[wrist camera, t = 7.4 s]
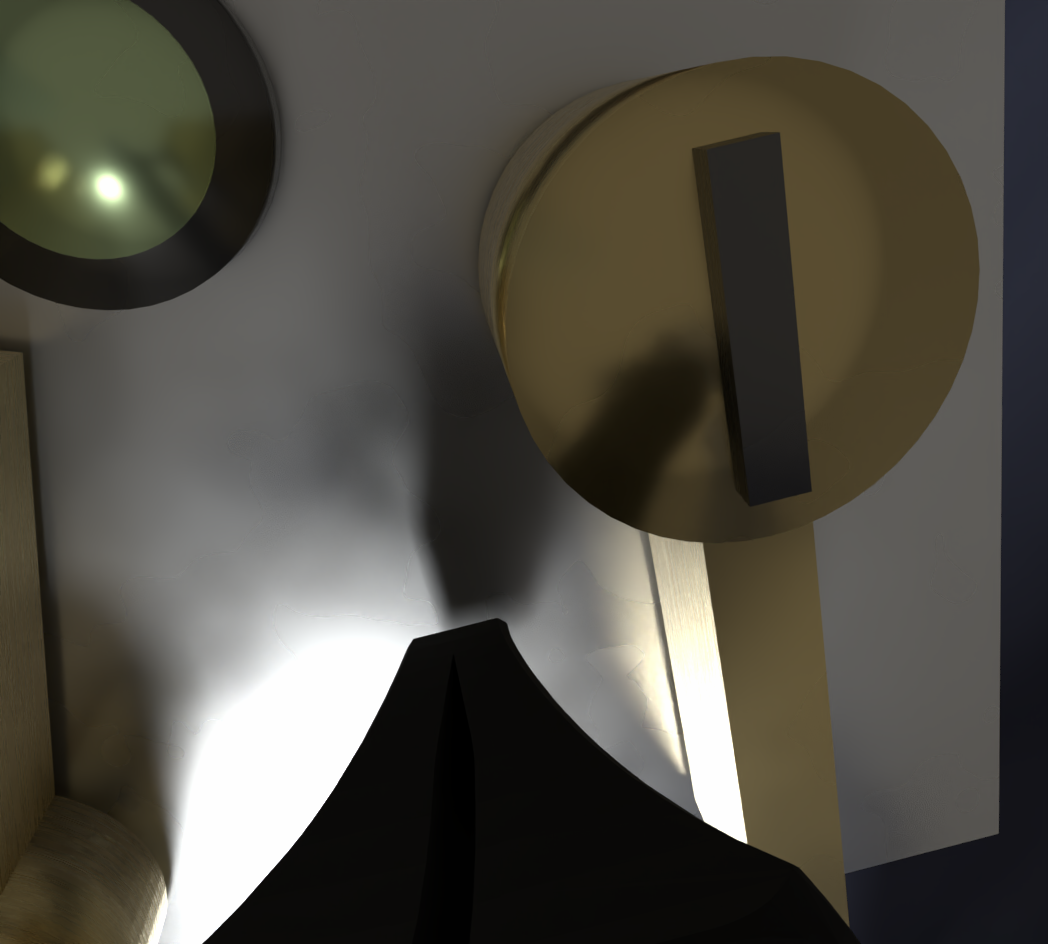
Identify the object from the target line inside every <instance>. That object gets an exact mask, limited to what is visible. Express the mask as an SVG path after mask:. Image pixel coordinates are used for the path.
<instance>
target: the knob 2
mask: <svg viewBox="0 0 1048 944" xmlns="http://www.w3.org/2000/svg"><path fill="white" fill-rule="evenodd" d="M979 273H980V265H979V250H978V237H977V232H976V227H975V222H974V217H973V213H972V208H971V205H970V202H969V199H968V196H967V193H966V190H965V188H964V185H963V182H962V179H961V177H960V175H959V173H958V171H957V169H956V167H955V166H954V164H953V162H952V160H951V158H950V156H949V154H948V152H947V150H946V149H945V148H944V146H943V145H942V144H941V142H940V141H939V140H938V138H937V137H936V136H935V134H934V133H933V131H932V130H931V129H930V127H929V126H928V125H927V124H926V123H925V122H924V121H923V120H922V119H921V118H920V117H919V116H918V115H917V114H916V113H915V112H914V111H913V110H912V109H911V108H910V107H909V106H908V105H907V104H906V103H904V102H903V101H902V100H900V99H899V98H897V97H896V96H895V95H893V94H892V93H890V92H889V91H888V90H886V89H885V88H883V87H882V86H881V85H879V84H877V83H875V82H873V81H871V80H869V79H867V78H865V77H863V76H861V75H859V74H857V73H854V72H852V71H850V70H847V69H844V68H840V67H837V66H834V65H831V64H827V63H824V62H821V61H815V60H808V59H802V58H795V57H788V56H771V57H747V58H741V59H734V60H728V61H722V62H716V63H711V64H707V65H702V66H697V67H692V68H688V69H683V70H678V71H673V72H669V73H664V74H659V75H654V76H649V77H645V78H640V79H635V80H630V81H626V82H621V83H617V84H614V85H611V86H608V87H604V88H601V89H598V90H595V91H593V92H591V93H589V94H587V95H585V96H583V97H581V98H578V99H576V100H574V101H573V102H571V103H570V104H568V105H567V106H565V107H564V108H562V109H560V110H559V111H557V112H556V113H554V114H553V115H552V116H551V117H550V118H548V119H547V120H546V121H545V122H544V123H543V124H541V125H540V126H539V127H538V128H537V129H536V130H535V131H534V132H533V133H532V134H531V135H530V136H529V137H528V138H527V140H526V141H525V142H524V143H523V144H522V145H521V146H520V147H519V149H518V150H517V152H516V153H515V154H514V156H513V157H512V159H511V160H510V162H509V163H508V165H507V166H506V168H505V169H504V171H503V173H502V175H501V177H500V179H499V181H498V183H497V185H496V187H495V189H494V191H493V194H492V196H491V199H490V202H489V205H488V207H487V210H486V213H485V217H484V222H483V226H482V231H481V235H480V244H479V255H478V274H479V287H480V293H481V299H482V305H483V308H484V312H485V315H486V318H487V322H488V325H489V328H490V331H491V333H492V336H493V339H494V341H495V344H496V347H497V350H498V352H499V355H500V358H501V360H502V363H503V366H504V369H505V371H506V374H507V377H508V380H509V382H510V385H511V388H512V390H513V393H514V396H515V399H516V401H517V404H518V407H519V410H520V412H521V414H522V416H523V419H524V421H525V423H526V425H527V427H528V429H529V432H530V434H531V436H532V438H533V440H534V441H535V443H536V444H537V446H538V447H539V449H540V451H541V452H542V454H543V455H544V457H545V458H546V460H547V461H548V463H549V464H550V465H551V466H552V468H553V469H554V470H555V471H556V472H557V473H558V474H559V476H560V477H561V478H562V479H563V480H564V481H565V483H566V484H567V485H569V486H570V487H571V488H572V489H573V490H574V491H575V492H577V493H578V494H579V495H580V496H581V497H582V498H583V499H585V500H586V501H587V502H588V503H590V504H591V505H593V506H594V507H596V508H597V509H599V510H600V511H602V512H603V513H605V514H607V515H608V516H610V517H611V518H614V519H616V520H618V521H620V522H622V523H624V524H626V525H628V526H630V527H632V528H635V529H638V530H641V531H644V532H647V533H648V534H649V540H650V546H651V551H652V557H653V563H654V568H655V574H656V580H657V585H658V591H659V597H660V602H661V608H662V614H663V620H664V625H665V631H666V637H667V642H668V648H669V654H670V659H671V665H672V671H673V676H674V682H675V688H676V693H677V699H678V705H679V710H680V716H681V722H682V728H683V733H684V739H685V745H686V750H687V756H688V762H689V767H690V773H691V779H692V784H693V790H694V796H695V800H696V803H697V805H698V808H699V810H700V812H701V815H702V817H703V820H704V822H706V823H708V824H710V825H712V826H713V827H715V828H717V829H719V830H721V831H722V832H724V833H726V834H728V835H730V836H731V837H733V838H735V839H737V840H740V841H742V842H744V843H746V844H749V845H751V846H753V847H755V848H758V849H760V850H762V851H764V852H767V853H769V854H771V855H773V856H776V857H778V858H780V859H782V860H785V861H787V862H789V863H791V864H794V865H795V866H797V867H799V868H800V869H801V870H802V871H803V872H804V873H805V874H806V876H807V877H808V878H809V879H810V880H811V881H812V882H813V884H814V885H815V886H816V887H817V888H818V889H819V891H820V892H821V893H822V894H823V895H824V896H825V898H826V899H827V900H828V901H829V902H830V904H831V905H832V906H833V907H834V909H835V910H836V911H837V912H838V914H839V915H840V916H841V917H842V919H843V920H844V921H845V923H846V924H847V925H848V927H849V917H848V906H847V895H846V884H845V872H844V861H843V850H842V839H841V828H840V817H839V806H838V794H837V783H836V772H835V761H834V750H833V739H832V728H831V716H830V705H829V694H828V683H827V672H826V661H825V650H824V639H823V627H822V616H821V605H820V594H819V583H818V572H817V561H816V549H815V538H814V527H813V521H815V520H817V519H819V518H822V517H824V516H826V515H828V514H829V513H831V512H833V511H835V510H836V509H838V508H840V507H842V506H843V505H845V504H847V503H849V502H850V501H852V500H853V499H855V498H856V497H857V496H859V495H860V494H861V493H863V492H864V491H866V490H867V489H868V488H870V487H871V486H872V485H874V484H875V483H876V482H877V481H878V480H880V479H881V478H882V477H883V476H884V475H885V474H886V473H887V472H888V471H890V470H891V469H892V468H893V467H894V466H895V465H896V464H897V463H898V462H899V461H900V460H901V459H902V458H903V457H904V455H905V454H906V453H907V452H908V451H909V450H910V449H911V448H912V447H913V445H914V444H915V443H916V442H917V441H918V440H919V438H920V437H921V435H922V434H923V433H924V431H925V430H926V428H927V427H928V426H929V424H930V423H931V422H932V420H933V419H934V417H935V416H936V414H937V413H938V411H939V409H940V407H941V405H942V404H943V402H944V400H945V398H946V397H947V395H948V393H949V391H950V390H951V388H952V385H953V383H954V381H955V378H956V376H957V374H958V371H959V369H960V367H961V365H962V362H963V360H964V356H965V353H966V350H967V347H968V343H969V340H970V337H971V333H972V330H973V324H974V319H975V313H976V308H977V302H978V290H979Z"/></svg>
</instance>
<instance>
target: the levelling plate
mask: <svg viewBox="0 0 1048 944" xmlns="http://www.w3.org/2000/svg"><path fill="white" fill-rule="evenodd" d="M1004 45H1005V0H0V350H1V351H11V352H21V353H23V365H24V378H25V392H26V406H27V419H28V433H29V446H30V460H31V473H32V487H33V501H34V514H35V528H36V541H37V555H38V568H39V582H40V596H41V609H42V623H43V636H44V650H45V664H46V677H47V691H48V704H49V718H50V731H51V745H52V759H53V772H54V786H55V795H59V796H63V797H66V798H70V799H73V800H76V801H79V802H81V803H84V804H87V805H89V806H92V807H94V808H96V809H98V810H100V811H102V812H104V813H106V814H108V815H109V816H111V817H112V818H114V819H115V820H117V821H118V822H120V823H121V824H123V825H124V826H125V827H127V828H128V829H129V830H130V831H131V832H133V833H134V834H135V835H136V836H137V837H138V838H139V839H140V840H141V841H142V842H143V843H144V844H145V846H146V847H147V848H148V849H149V851H150V852H151V854H152V855H153V856H154V858H155V859H156V861H157V863H158V865H159V867H160V869H161V871H162V874H163V877H164V881H165V884H166V891H167V911H166V916H165V920H164V923H163V927H162V930H161V933H160V936H159V939H158V943H157V944H202V943H203V942H204V941H205V940H206V939H207V938H209V937H210V936H211V935H212V934H213V933H214V932H215V931H216V929H217V928H218V927H219V926H220V925H221V924H222V923H223V922H224V921H225V920H226V919H227V918H228V917H229V916H230V915H231V914H232V913H233V912H234V911H235V910H236V909H237V908H238V907H239V906H240V905H241V904H242V903H243V902H244V901H245V900H246V898H247V897H248V896H249V895H250V894H251V893H252V892H253V890H254V889H255V888H256V887H257V886H258V885H259V884H260V882H261V881H262V880H263V879H264V878H265V877H266V876H267V874H268V873H269V872H270V871H271V870H272V869H273V868H274V866H275V865H276V864H277V863H278V862H279V861H280V860H281V858H282V857H283V856H284V855H285V854H286V853H287V852H288V850H289V849H290V848H291V847H292V845H293V844H294V843H295V842H296V840H297V839H298V838H299V837H300V835H301V834H302V833H303V831H304V830H305V829H306V827H307V826H308V825H309V823H310V822H311V821H312V819H313V818H314V816H315V815H316V814H317V812H318V811H319V809H320V808H321V806H322V805H323V804H324V802H325V801H326V799H327V798H328V796H329V795H330V793H331V792H332V790H333V789H334V787H335V785H336V784H337V782H338V780H339V779H340V777H341V776H342V774H343V772H344V771H345V769H346V767H347V766H348V764H349V762H350V761H351V759H352V757H353V756H354V754H355V752H356V751H357V749H358V747H359V746H360V744H361V742H362V740H363V739H364V737H365V735H366V733H367V731H368V729H369V727H370V725H371V723H372V722H373V720H374V718H375V716H376V714H377V712H378V710H379V708H380V706H381V704H382V702H383V700H384V698H385V696H386V694H387V692H388V690H389V688H390V686H391V684H392V682H393V679H394V677H395V675H396V673H397V671H398V668H399V666H400V664H401V662H402V659H403V657H404V655H405V652H406V650H407V648H408V646H409V645H410V643H411V642H412V640H413V639H415V638H419V637H423V636H427V635H431V634H435V633H438V632H442V631H446V630H450V629H454V628H458V627H462V626H466V625H470V624H474V623H478V622H482V621H486V620H490V619H494V618H499V619H501V620H503V621H505V622H506V623H507V624H508V628H509V632H510V635H511V637H512V639H513V641H514V643H515V645H516V647H517V649H518V650H519V652H520V654H521V655H522V657H523V658H524V660H525V661H526V663H527V664H528V666H529V667H530V669H531V670H532V672H533V673H534V674H535V676H536V677H537V678H538V679H539V681H540V682H541V683H542V684H543V686H544V687H545V688H546V690H547V691H548V692H549V693H550V695H551V696H552V697H553V698H554V699H555V701H556V702H557V703H558V704H559V705H560V706H561V707H562V709H563V710H564V711H565V712H566V713H567V714H568V715H569V716H570V717H571V718H572V719H573V720H574V721H575V722H576V723H577V724H578V725H579V727H580V728H581V729H582V730H583V731H584V732H586V733H587V734H588V735H589V736H590V737H591V738H592V739H593V740H594V741H595V742H596V743H597V744H598V745H599V746H600V747H601V748H603V749H604V750H605V751H606V752H607V753H608V754H610V755H611V756H612V757H613V758H614V759H615V760H617V761H618V762H619V763H620V764H621V765H623V766H624V767H625V768H626V769H628V770H629V771H630V772H632V773H633V774H634V775H635V776H637V777H638V778H639V779H641V780H642V781H643V782H644V783H646V784H647V785H649V786H650V787H652V788H653V789H655V790H656V791H658V792H659V793H661V794H662V795H664V796H665V797H667V798H668V799H670V800H671V801H673V802H674V803H676V804H677V805H679V806H681V807H682V808H684V809H685V810H687V811H688V812H690V813H691V814H693V815H694V816H696V817H697V818H699V819H701V820H703V817H702V815H701V812H700V810H699V808H698V805H697V803H696V800H695V796H694V790H693V784H692V779H691V773H690V767H689V762H688V756H687V750H686V745H685V739H684V733H683V728H682V722H681V716H680V710H679V705H678V699H677V693H676V688H675V682H674V676H673V671H672V665H671V659H670V654H669V648H668V642H667V637H666V631H665V625H664V620H663V614H662V608H661V602H660V597H659V591H658V585H657V580H656V574H655V568H654V563H653V557H652V551H651V546H650V540H649V534H648V533H647V532H644V531H641V530H638V529H635V528H632V527H630V526H628V525H626V524H624V523H622V522H620V521H618V520H616V519H614V518H611V517H610V516H608V515H607V514H605V513H603V512H602V511H600V510H599V509H597V508H596V507H594V506H593V505H591V504H590V503H588V502H587V501H586V500H585V499H583V498H582V497H581V496H580V495H579V494H578V493H577V492H575V491H574V490H573V489H572V488H571V487H570V486H569V485H567V484H566V483H565V481H564V480H563V479H562V478H561V477H560V476H559V474H558V473H557V472H556V471H555V470H554V469H553V468H552V466H551V465H550V464H549V463H548V461H547V460H546V458H545V457H544V455H543V454H542V452H541V451H540V449H539V447H538V446H537V444H536V443H535V441H534V440H533V438H532V436H531V434H530V432H529V429H528V427H527V425H526V423H525V421H524V419H523V416H522V414H521V412H520V410H519V407H518V404H517V401H516V399H515V396H514V393H513V390H512V388H511V385H510V382H509V380H508V377H507V374H506V371H505V369H504V366H503V363H502V360H501V358H500V355H499V352H498V350H497V347H496V344H495V341H494V339H493V336H492V333H491V331H490V328H489V325H488V322H487V318H486V315H485V312H484V308H483V305H482V299H481V293H480V287H479V274H478V255H479V244H480V235H481V231H482V226H483V222H484V217H485V213H486V210H487V207H488V205H489V202H490V199H491V196H492V194H493V191H494V189H495V187H496V185H497V183H498V181H499V179H500V177H501V175H502V173H503V171H504V169H505V168H506V166H507V165H508V163H509V162H510V160H511V159H512V157H513V156H514V154H515V153H516V152H517V150H518V149H519V147H520V146H521V145H522V144H523V143H524V142H525V141H526V140H527V138H528V137H529V136H530V135H531V134H532V133H533V132H534V131H535V130H536V129H537V128H538V127H539V126H540V125H541V124H543V123H544V122H545V121H546V120H547V119H548V118H550V117H551V116H552V115H553V114H554V113H556V112H557V111H559V110H560V109H562V108H564V107H565V106H567V105H568V104H570V103H571V102H573V101H574V100H576V99H578V98H581V97H583V96H585V95H587V94H589V93H591V92H593V91H595V90H598V89H601V88H604V87H608V86H611V85H614V84H617V83H621V82H626V81H630V80H635V79H640V78H645V77H649V76H654V75H659V74H664V73H669V72H673V71H678V70H683V69H688V68H692V67H697V66H702V65H707V64H711V63H716V62H722V61H728V60H734V59H741V58H747V57H771V56H788V57H795V58H802V59H808V60H815V61H821V62H824V63H827V64H831V65H834V66H837V67H840V68H844V69H847V70H850V71H852V72H854V73H857V74H859V75H861V76H863V77H865V78H867V79H869V80H871V81H873V82H875V83H877V84H879V85H881V86H882V87H883V88H885V89H886V90H888V91H889V92H890V93H892V94H893V95H895V96H896V97H897V98H899V99H900V100H902V101H903V102H904V103H906V104H907V105H908V106H909V107H910V108H911V109H912V110H913V111H914V112H915V113H916V114H917V115H918V116H919V117H920V118H921V119H922V120H923V121H924V122H925V123H926V124H927V125H928V126H929V127H930V129H931V130H932V131H933V133H934V134H935V136H936V137H937V138H938V140H939V141H940V142H941V144H942V145H943V146H944V148H945V149H946V150H947V152H948V154H949V156H950V158H951V160H952V162H953V164H954V166H955V167H956V169H957V171H958V173H959V175H960V177H961V179H962V182H963V185H964V188H965V190H966V193H967V196H968V199H969V202H970V205H971V208H972V213H973V217H974V222H975V227H976V232H977V237H978V250H979V265H980V273H979V290H978V302H977V308H976V313H975V319H974V324H973V330H972V333H971V337H970V340H969V343H968V347H967V350H966V353H965V356H964V360H963V362H962V365H961V367H960V369H959V371H958V374H957V376H956V378H955V381H954V383H953V385H952V388H951V390H950V391H949V393H948V395H947V397H946V398H945V400H944V402H943V404H942V405H941V407H940V409H939V411H938V413H937V414H936V416H935V417H934V419H933V420H932V422H931V423H930V424H929V426H928V427H927V428H926V430H925V431H924V433H923V434H922V435H921V437H920V438H919V440H918V441H917V442H916V443H915V444H914V445H913V447H912V448H911V449H910V450H909V451H908V452H907V453H906V454H905V455H904V457H903V458H902V459H901V460H900V461H899V462H898V463H897V464H896V465H895V466H894V467H893V468H892V469H891V470H890V471H888V472H887V473H886V474H885V475H884V476H883V477H882V478H881V479H880V480H878V481H877V482H876V483H875V484H874V485H872V486H871V487H870V488H868V489H867V490H866V491H864V492H863V493H861V494H860V495H859V496H857V497H856V498H855V499H853V500H852V501H850V502H849V503H847V504H845V505H843V506H842V507H840V508H838V509H836V510H835V511H833V512H831V513H829V514H828V515H826V516H824V517H822V518H819V519H817V520H815V521H813V527H814V538H815V549H816V561H817V572H818V583H819V594H820V605H821V616H822V627H823V639H824V650H825V661H826V672H827V683H828V694H829V705H830V716H831V728H832V739H833V750H834V761H835V772H836V783H837V794H838V806H839V817H840V828H841V839H842V850H843V861H844V872H845V874H846V873H850V872H853V871H857V870H861V869H865V868H869V867H873V866H876V865H880V864H884V863H888V862H892V861H896V860H899V859H903V858H907V857H911V856H915V855H919V854H922V853H926V852H930V851H934V850H938V849H942V848H945V847H949V846H953V845H957V844H961V843H965V842H969V841H972V840H976V839H980V838H984V837H988V836H992V835H995V834H999V734H1000V596H1001V459H1002V321H1003V183H1004ZM703 821H704V820H703Z"/></svg>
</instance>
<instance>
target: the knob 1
mask: <svg viewBox="0 0 1048 944" xmlns="http://www.w3.org/2000/svg"><path fill="white" fill-rule="evenodd" d="M166 911H167V891H166V884H165V881H164V877H163V874H162V871H161V869H160V867H159V865H158V863H157V861H156V859H155V858H154V856H153V855H152V854H151V852H150V851H149V849H148V848H147V847H146V846H145V844H144V843H143V842H142V841H141V840H140V839H139V838H138V837H137V836H136V835H135V834H134V833H133V832H131V831H130V830H129V829H128V828H127V827H125V826H124V825H123V824H121V823H120V822H118V821H117V820H115V819H114V818H112V817H111V816H109V815H108V814H106V813H104V812H102V811H100V810H98V809H96V808H94V807H92V806H89V805H87V804H84V803H81V802H79V801H76V800H73V799H70V798H66V797H63V796H59V795H55V786H54V772H53V759H52V745H51V731H50V718H49V704H48V691H47V677H46V664H45V650H44V636H43V623H42V609H41V596H40V582H39V568H38V555H37V541H36V528H35V514H34V501H33V487H32V473H31V460H30V446H29V433H28V419H27V406H26V392H25V378H24V365H23V353H21V352H11V351H1V350H0V944H157V943H158V939H159V936H160V933H161V930H162V927H163V923H164V920H165V916H166Z"/></svg>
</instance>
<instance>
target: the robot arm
mask: <svg viewBox="0 0 1048 944" xmlns="http://www.w3.org/2000/svg"><path fill="white" fill-rule="evenodd" d="M202 944H861V943H860V942H859V941H858V939H857V938H856V936H855V935H854V934H853V932H852V931H851V929H850V928H849V927H848V925H847V924H846V923H845V921H844V920H843V919H842V917H841V916H840V915H839V914H838V912H837V911H836V910H835V909H834V907H833V906H832V905H831V904H830V902H829V901H828V900H827V899H826V898H825V896H824V895H823V894H822V893H821V892H820V891H819V889H818V888H817V887H816V886H815V885H814V884H813V882H812V881H811V880H810V879H809V878H808V877H807V876H806V874H805V873H804V872H803V871H802V870H801V869H800V868H799V867H797V866H795V865H794V864H791V863H789V862H787V861H785V860H782V859H780V858H778V857H776V856H773V855H771V854H769V853H767V852H764V851H762V850H760V849H758V848H755V847H753V846H751V845H749V844H746V843H744V842H742V841H740V840H737V839H735V838H733V837H731V836H730V835H728V834H726V833H724V832H722V831H721V830H719V829H717V828H715V827H713V826H712V825H710V824H708V823H706V822H704V821H703V820H701V819H699V818H697V817H696V816H694V815H693V814H691V813H690V812H688V811H687V810H685V809H684V808H682V807H681V806H679V805H677V804H676V803H674V802H673V801H671V800H670V799H668V798H667V797H665V796H664V795H662V794H661V793H659V792H658V791H656V790H655V789H653V788H652V787H650V786H649V785H647V784H646V783H644V782H643V781H642V780H641V779H639V778H638V777H637V776H635V775H634V774H633V773H632V772H630V771H629V770H628V769H626V768H625V767H624V766H623V765H621V764H620V763H619V762H618V761H617V760H615V759H614V758H613V757H612V756H611V755H610V754H608V753H607V752H606V751H605V750H604V749H603V748H601V747H600V746H599V745H598V744H597V743H596V742H595V741H594V740H593V739H592V738H591V737H590V736H589V735H588V734H587V733H586V732H584V731H583V730H582V729H581V728H580V727H579V725H578V724H577V723H576V722H575V721H574V720H573V719H572V718H571V717H570V716H569V715H568V714H567V713H566V712H565V711H564V710H563V709H562V707H561V706H560V705H559V704H558V703H557V702H556V701H555V699H554V698H553V697H552V696H551V695H550V693H549V692H548V691H547V690H546V688H545V687H544V686H543V684H542V683H541V682H540V681H539V679H538V678H537V677H536V676H535V674H534V673H533V672H532V670H531V669H530V667H529V666H528V664H527V663H526V661H525V660H524V658H523V657H522V655H521V654H520V652H519V650H518V649H517V647H516V645H515V643H514V641H513V639H512V637H511V635H510V632H509V628H508V624H507V623H506V622H505V621H503V620H501V619H499V618H494V619H490V620H486V621H482V622H478V623H474V624H470V625H466V626H462V627H458V628H454V629H450V630H446V631H442V632H438V633H435V634H431V635H427V636H423V637H419V638H415V639H413V640H412V642H411V643H410V645H409V646H408V648H407V650H406V652H405V655H404V657H403V659H402V662H401V664H400V666H399V668H398V671H397V673H396V675H395V677H394V679H393V682H392V684H391V686H390V688H389V690H388V692H387V694H386V696H385V698H384V700H383V702H382V704H381V706H380V708H379V710H378V712H377V714H376V716H375V718H374V720H373V722H372V723H371V725H370V727H369V729H368V731H367V733H366V735H365V737H364V739H363V740H362V742H361V744H360V746H359V747H358V749H357V751H356V752H355V754H354V756H353V757H352V759H351V761H350V762H349V764H348V766H347V767H346V769H345V771H344V772H343V774H342V776H341V777H340V779H339V780H338V782H337V784H336V785H335V787H334V789H333V790H332V792H331V793H330V795H329V796H328V798H327V799H326V801H325V802H324V804H323V805H322V806H321V808H320V809H319V811H318V812H317V814H316V815H315V816H314V818H313V819H312V821H311V822H310V823H309V825H308V826H307V827H306V829H305V830H304V831H303V833H302V834H301V835H300V837H299V838H298V839H297V840H296V842H295V843H294V844H293V845H292V847H291V848H290V849H289V850H288V852H287V853H286V854H285V855H284V856H283V857H282V858H281V860H280V861H279V862H278V863H277V864H276V865H275V866H274V868H273V869H272V870H271V871H270V872H269V873H268V874H267V876H266V877H265V878H264V879H263V880H262V881H261V882H260V884H259V885H258V886H257V887H256V888H255V889H254V890H253V892H252V893H251V894H250V895H249V896H248V897H247V898H246V900H245V901H244V902H243V903H242V904H241V905H240V906H239V907H238V908H237V909H236V910H235V911H234V912H233V913H232V914H231V915H230V916H229V917H228V918H227V919H226V920H225V921H224V922H223V923H222V924H221V925H220V926H219V927H218V928H217V929H216V931H215V932H214V933H213V934H212V935H211V936H210V937H209V938H207V939H206V940H205V941H204V942H203V943H202Z"/></svg>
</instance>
